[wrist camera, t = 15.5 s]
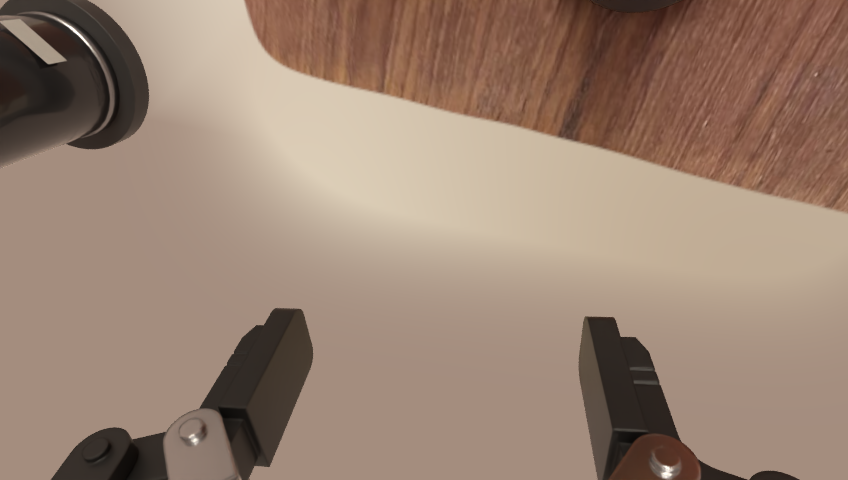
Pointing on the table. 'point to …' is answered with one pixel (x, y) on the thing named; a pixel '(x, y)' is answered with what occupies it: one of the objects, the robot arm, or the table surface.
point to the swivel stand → (634, 5)
